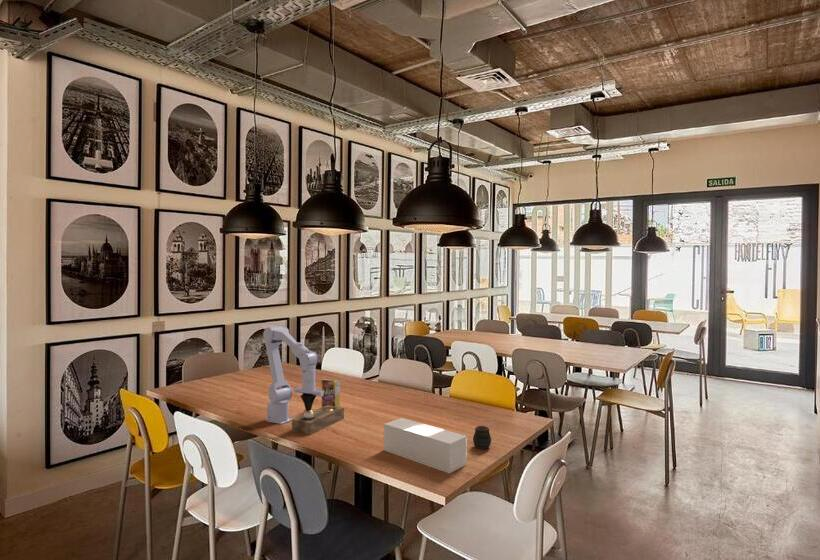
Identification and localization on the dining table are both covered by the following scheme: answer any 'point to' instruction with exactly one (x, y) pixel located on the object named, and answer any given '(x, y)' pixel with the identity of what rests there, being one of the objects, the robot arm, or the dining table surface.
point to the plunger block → (318, 420)
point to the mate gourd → (482, 437)
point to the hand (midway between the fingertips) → (308, 410)
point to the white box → (426, 444)
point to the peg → (308, 415)
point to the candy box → (331, 392)
